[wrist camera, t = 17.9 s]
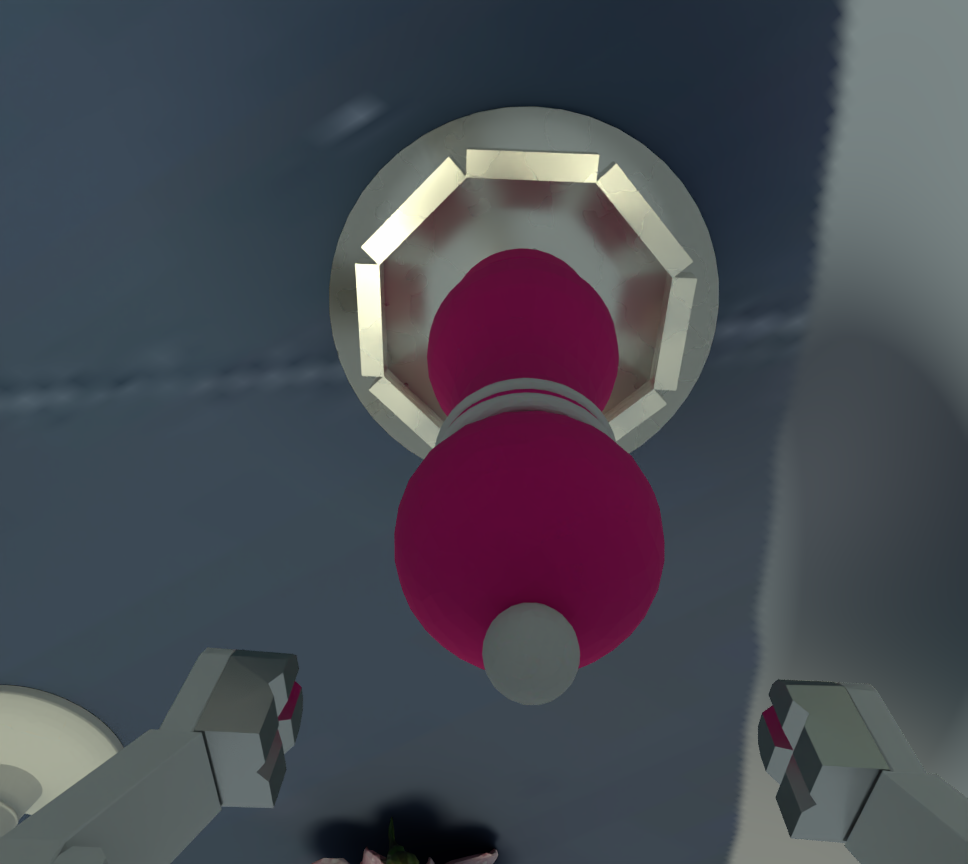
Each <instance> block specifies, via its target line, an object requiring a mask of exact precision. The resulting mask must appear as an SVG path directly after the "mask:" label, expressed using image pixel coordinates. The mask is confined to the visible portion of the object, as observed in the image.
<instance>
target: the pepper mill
mask: <svg viewBox="0 0 968 864" xmlns="http://www.w3.org/2000/svg"><path fill="white" fill-rule="evenodd" d="M427 364H428V375H429V379H430V382H431V385H432V388H433V391H434V394H435V396H436V398H437V400H438V402H439V404H440V407H441V409H442V410H443V411H444V413H445V414H446V416H447V418H446V420H445V421H444V423H443V425H442V427H441V429H440V431H439V434H438V436H437V439H436V443H435V447H434V448H433V449H432V450H431V451H430V452H429V453H428V455H427V456H426V457H425V459H424V460H423V462H422V463H421V464H420V466H419V467H418V468H417V470H416V471H415V473H414V474H413V475H412V477H411V478H410V480H409V482H408V484H407V487H406V489H405V492H404V494H403V497H402V500H401V502H400V505H399V508H398V515H397V521H396V527H395V534H394V535H395V563H396V568H397V572H398V576H399V580H400V583H401V587H402V590H403V593H404V595H405V597H406V600H407V602H408V604H409V606H410V609H411V610H412V612H413V613H414V615H415V616H416V617H417V619H418V620H419V621H420V623H421V624H422V626H423V627H424V628H425V630H426V631H427V632H428V633H429V634H430V635H431V636H432V637H433V638H434V639H435V640H437V641H438V642H439V643H440V644H441V645H442V646H443V647H444V648H446V649H447V650H449V651H450V652H452V653H453V654H454V655H456V656H457V657H459V658H460V659H462V660H464V661H467V662H469V663H471V664H473V665H475V666H477V667H479V668H481V669H484V670H486V673H487V675H488V677H489V679H490V680H491V682H492V684H493V685H494V687H495V688H496V689H497V690H498V691H499V692H501V693H502V694H503V695H504V696H506V697H507V698H508V699H510V700H513V701H516V702H519V703H521V704H524V705H541V704H544V703H547V702H550V701H553V700H554V699H556V698H557V697H558V696H560V695H561V694H563V693H564V691H565V690H566V689H567V688H568V687H569V686H570V685H571V684H572V682H573V680H574V678H575V675H576V673H577V671H578V669H579V668H581V667H584V666H586V665H588V664H590V663H593V662H595V661H596V660H598V659H600V658H601V657H603V656H604V655H606V654H608V653H609V652H611V651H612V650H614V649H615V648H616V647H617V646H618V645H620V644H621V643H622V642H623V641H624V640H625V639H626V638H628V637H629V636H630V635H631V634H632V632H633V631H634V630H635V629H636V627H637V626H638V625H639V624H640V622H641V621H642V620H643V619H644V617H645V615H646V613H647V611H648V609H649V607H650V605H651V603H652V601H653V599H654V597H655V595H656V593H657V591H658V588H659V583H660V578H661V574H662V569H663V565H664V535H663V528H662V521H661V514H660V509H659V506H658V503H657V500H656V497H655V494H654V492H653V490H652V488H651V486H650V484H649V482H648V480H647V479H646V477H645V476H644V474H643V473H642V471H641V470H640V468H639V467H638V465H637V464H636V462H635V460H634V459H633V457H632V456H631V455H630V454H629V453H627V452H626V451H625V450H624V449H623V448H622V447H620V446H619V445H618V444H617V443H616V439H615V436H614V433H613V431H612V428H611V426H610V424H609V423H608V421H607V419H606V418H605V416H604V415H603V413H602V411H603V410H604V408H605V406H606V404H607V402H608V400H609V399H610V396H611V393H612V390H613V387H614V384H615V381H616V377H617V372H618V364H619V351H618V342H617V336H616V331H615V326H614V322H613V320H612V317H611V314H610V312H609V310H608V308H607V306H606V305H605V303H604V301H603V300H602V298H601V297H600V295H599V294H598V293H597V292H596V291H595V290H594V288H593V287H592V286H591V285H590V284H589V283H588V282H586V281H585V280H584V279H582V278H581V277H580V276H579V275H578V274H577V273H576V272H575V270H574V269H573V268H572V267H570V266H569V265H568V264H567V263H565V262H564V261H563V260H561V259H559V258H557V257H555V256H553V255H551V254H549V253H546V252H543V251H539V250H535V249H528V248H518V249H510V250H505V251H501V252H498V253H495V254H493V255H490V256H488V257H487V258H485V259H483V260H481V261H480V262H479V263H477V264H476V265H475V266H474V267H472V268H471V269H470V270H469V272H468V273H467V274H466V275H465V276H464V277H463V279H462V280H461V281H460V282H459V283H458V284H457V285H456V286H455V287H454V288H453V289H452V290H451V291H450V292H449V294H448V295H447V296H446V298H445V299H444V300H443V302H442V303H441V305H440V307H439V309H438V311H437V313H436V314H435V317H434V320H433V323H432V326H431V329H430V335H429V341H428V350H427Z"/></svg>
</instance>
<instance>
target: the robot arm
mask: <svg viewBox="0 0 968 864" xmlns="http://www.w3.org/2000/svg"><path fill="white" fill-rule="evenodd" d="M298 670H299V666H298V661H297V656H296V655H294V654H287V653H274V652H262V651H250V650H237V649H236V650H233V649H219V648H207V649H206V650H205V651H203V652H202V653H201V654H200V655H199V657H198V659H197V661H196V662H195V664H194V666H193V668H192V670H191V672H190V673H189V675H188V677H187V679H186V681H185V683H184V684H183V686H182V688H181V690H180V692H179V693H178V695H177V697H176V699H175V701H174V703H173V704H172V706H171V708H170V710H169V712H168V714H167V715H166V717H165V719H164V721H163V723H162V725H161V726H160V728H159V730H152V729H150V730H148V731H147V732H146V733H144V734H143V735H141V736H140V737H139V738H137V739H136V740H135V741H133V742H132V743H130V744H129V745H128V746H126V747H125V748H124V749H122V750H121V751H119V752H118V753H117V754H115V755H114V756H112V757H111V758H110V759H108V760H107V761H106V762H104V763H103V764H101V765H100V766H99V767H97V768H96V769H95V770H93V771H92V772H90V773H89V774H88V775H86V776H85V777H84V778H82V779H81V780H79V781H78V782H77V783H75V784H74V785H73V786H71V787H70V788H68V789H67V790H66V791H64V792H63V793H62V794H60V795H59V796H57V797H56V798H55V799H53V800H52V801H51V802H49V803H48V804H46V805H45V806H44V807H42V808H41V809H40V810H38V811H37V812H35V813H34V814H33V815H31V816H30V817H28V818H27V819H26V820H24V821H23V822H22V823H20V824H19V825H17V826H16V827H15V828H13V829H12V830H11V831H9V832H8V833H6V834H5V835H4V836H2V837H1V838H0V864H170V863H171V862H172V861H173V860H174V859H175V858H176V857H177V856H178V855H179V854H180V853H181V852H182V851H183V849H184V848H185V847H186V846H187V845H188V844H189V843H190V842H191V841H192V840H193V839H194V838H195V837H196V836H197V835H198V834H199V833H200V832H201V831H202V830H203V829H204V827H205V826H206V825H207V824H208V823H209V822H210V821H211V820H212V819H213V818H214V817H215V816H216V815H217V814H218V813H219V812H220V811H221V806H225V807H260V808H274V805H275V802H276V799H277V796H278V793H279V790H280V787H281V784H282V781H283V778H284V775H285V772H286V763H285V757H284V754H285V753H286V752H287V751H288V750H289V749H290V748H291V747H293V746H294V745H295V742H296V739H297V735H298V732H299V729H300V723H301V717H302V711H303V694H302V687H301V686H300V685H299V684H298V683H297V682H295V679H296V676H297V673H298ZM769 697H770V699H771V702H772V704H773V706H771V707H770V708H768V709H767V710H765V711H764V712H763V713H762V715H761V719H760V722H759V725H758V745H759V750H760V755H761V758H762V761H763V764H764V767H765V770H766V772H767V773H768V774H769V775H770V776H771V777H772V778H774V779H775V780H776V781H777V782H778V783H779V784H780V787H779V790H778V792H777V795H776V800H777V802H778V805H779V808H780V811H781V813H782V816H783V819H784V821H785V824H786V827H787V829H788V832H789V835H790V837H791V838H795V839H806V840H818V841H829V842H841V843H845V847H846V848H847V849H848V850H849V851H850V852H851V854H852V855H853V856H854V857H855V858H856V859H857V860H858V861H859V862H860V863H861V864H968V798H967V797H965V796H964V795H963V794H962V793H960V792H959V791H958V790H956V789H955V788H954V787H953V786H951V785H950V784H949V783H947V782H946V781H945V780H943V779H942V778H941V777H940V776H938V775H937V774H931V773H926V771H925V770H924V768H923V766H922V764H921V763H920V761H919V760H918V758H917V756H916V755H915V753H914V751H913V750H912V748H911V746H910V745H909V743H908V741H907V740H906V738H905V737H904V735H903V733H902V732H901V730H900V728H899V727H898V725H897V724H896V722H895V720H894V718H893V717H892V715H891V713H890V712H889V710H888V708H887V707H886V705H885V703H884V702H883V700H882V699H881V697H880V695H879V694H878V692H877V690H876V689H875V688H874V687H872V686H871V685H870V684H861V683H840V682H838V683H835V682H827V681H802V680H779V679H778V680H777V681H775V682H774V683H773V684H772V687H771V689H770V692H769Z"/></svg>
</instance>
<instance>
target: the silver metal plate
mask: <svg viewBox="0 0 968 864" xmlns="http://www.w3.org/2000/svg"><path fill="white" fill-rule="evenodd" d="M518 248H528V249H535V250H539V251H543V252H546V253H549V254H551V255H553V256H555V257H557V258H559V259H561V260H563V261H564V262H565V263H567V264H568V265H569V266H570V267H572V268H573V269H574V270H575V272H576V273H577V274H578V275H579V276H580V277H581V278H582V279H584V280H585V281H586V282H588V283H589V284H590V285H591V286H592V287H593V288H594V290H595V291H596V292H597V293H598V294H599V295H600V297H601V298H602V300H603V301H604V303H605V305H606V306H607V308H608V310H609V312H610V314H611V317H612V320H613V322H614V326H615V331H616V336H617V342H618V351H619V364H618V372H617V377H616V381H615V384H614V387H613V390H612V393H611V396H610V399H609V400H608V402H607V404H606V406H605V408H604V410H603V411H602V413H603V415H604V416H605V418H606V419H607V421H608V423H609V424H610V426H611V428H612V431H613V433H614V436H615V439H616V443H617V444H618V445H619V446H620V447H622V448H623V449H624V450H625V451H626V452H627V453H630V452H632V451H634V450H635V449H637V448H638V447H640V446H641V445H642V444H643V443H645V442H646V441H647V440H648V439H650V438H651V437H652V436H653V435H654V434H656V433H657V432H658V431H659V430H660V429H661V428H662V427H663V426H664V425H665V424H666V423H667V422H668V421H669V420H670V419H671V417H672V416H673V415H674V414H675V413H676V411H677V410H678V409H679V407H680V406H681V405H682V403H683V402H684V401H685V400H686V398H687V397H688V395H689V393H690V392H691V390H692V388H693V386H694V385H695V383H696V381H697V380H698V378H699V376H700V374H701V371H702V369H703V367H704V364H705V362H706V360H707V357H708V355H709V352H710V348H711V344H712V341H713V337H714V334H715V329H716V322H717V315H718V308H719V279H718V271H717V264H716V257H715V253H714V249H713V246H712V242H711V239H710V235H709V232H708V229H707V227H706V224H705V222H704V220H703V218H702V216H701V213H700V211H699V209H698V207H697V205H696V203H695V202H694V200H693V199H692V197H691V196H690V194H689V192H688V191H687V189H686V188H685V186H684V185H683V183H682V182H681V181H680V180H679V178H678V177H677V176H676V175H675V174H674V173H673V172H672V170H671V169H670V168H669V167H668V166H667V165H666V164H665V162H663V161H662V160H661V159H660V158H659V157H658V156H656V155H655V154H654V153H653V152H652V151H650V150H649V149H648V148H647V147H646V146H645V145H643V144H642V143H640V142H639V141H637V140H636V139H634V138H632V137H631V136H629V135H627V134H626V133H624V132H623V131H621V130H619V129H617V128H615V127H613V126H611V125H608V124H606V123H604V122H601V121H599V120H597V119H594V118H592V117H590V116H586V115H582V114H578V113H575V112H571V111H567V110H563V109H556V108H547V107H538V106H521V107H503V108H498V109H492V110H487V111H481V112H477V113H474V114H471V115H468V116H465V117H462V118H459V119H456V120H453V121H450V122H448V123H446V124H444V125H442V126H440V127H438V128H436V129H434V130H433V131H431V132H429V133H427V134H425V135H423V136H422V137H420V138H419V139H417V140H416V141H415V142H413V143H412V144H410V145H409V146H407V147H406V148H405V149H403V150H402V151H400V152H399V153H398V154H397V155H396V156H395V157H394V158H393V159H392V160H391V161H390V162H388V163H387V164H386V165H385V166H384V167H383V168H382V169H381V170H380V171H379V172H378V174H377V175H376V176H375V177H374V178H373V180H372V181H371V182H370V183H369V185H368V186H367V187H366V188H365V190H364V191H363V192H362V194H361V196H360V197H359V199H358V201H357V202H356V204H355V206H354V207H353V209H352V211H351V212H350V214H349V216H348V219H347V221H346V223H345V226H344V228H343V230H342V233H341V235H340V238H339V240H338V244H337V248H336V252H335V256H334V259H333V263H332V270H331V278H330V287H329V311H330V320H331V327H332V334H333V339H334V342H335V346H336V349H337V353H338V356H339V360H340V362H341V365H342V367H343V369H344V372H345V374H346V376H347V379H348V381H349V383H350V384H351V386H352V388H353V390H354V391H355V393H356V395H357V396H358V398H359V400H360V401H361V403H362V404H363V405H364V407H365V408H366V409H367V410H368V412H369V413H370V414H371V416H372V417H373V418H374V420H375V421H376V422H377V423H378V424H379V425H380V426H381V427H382V428H383V429H384V430H385V431H386V432H387V433H388V434H389V435H390V436H392V437H393V438H394V439H395V440H397V441H398V442H399V443H400V444H402V445H403V446H404V447H405V448H407V449H408V450H409V451H411V452H413V453H414V454H416V455H417V456H419V457H421V458H422V459H425V457H426V456H427V455H428V453H429V452H430V451H431V450H432V449H433V448H434V447H435V443H436V439H437V436H438V434H439V431H440V429H441V427H442V425H443V423H444V421H445V420H446V418H447V416H446V414H445V413H444V411H443V410H442V409H441V407H440V404H439V402H438V400H437V398H436V396H435V394H434V391H433V388H432V385H431V382H430V379H429V375H428V364H427V350H428V341H429V335H430V329H431V326H432V323H433V320H434V317H435V314H436V313H437V311H438V309H439V307H440V305H441V303H442V302H443V300H444V299H445V298H446V296H447V295H448V294H449V292H450V291H451V290H452V289H453V288H454V287H455V286H456V285H457V284H458V283H459V282H460V281H461V280H462V279H463V277H464V276H465V275H466V274H467V273H468V272H469V270H470V269H471V268H472V267H474V266H475V265H476V264H477V263H479V262H480V261H481V260H483V259H485V258H487V257H488V256H490V255H493V254H495V253H498V252H501V251H505V250H510V249H518Z"/></svg>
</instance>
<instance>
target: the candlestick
mask: <svg viewBox="0 0 968 864" xmlns="http://www.w3.org/2000/svg"><path fill="white" fill-rule="evenodd" d="M122 749H124V748H123V746H122V744H121V742H120V741H119V739H118V738H117V737H116V735H115V734H114V733H113V732H112V731H111V730H110V729H109V728H108V727H107V726H106V725H105V724H104V723H103V722H102V721H101V720H99V719H98V718H97V717H95V716H94V715H93V714H91V713H90V712H88V711H87V710H85V709H83V708H82V707H80V706H78V705H76V704H74V703H72V702H70V701H68V700H66V699H64V698H61V697H59V696H56V695H53V694H50V693H47V692H44V691H40V690H37V689H32V688H27V687H21V686H13V685H0V838H1V837H2V836H4V835H5V834H6V833H8V832H9V831H11V830H12V829H13V828H15V827H16V825H17V824H18V821H19V819H20V818H21V817H22V816H23V815H24V814H25V813H26V814H30V815H33V814H34V813H35V812H37V811H38V810H40V809H41V808H42V807H44V806H45V805H46V804H48V803H49V802H51V801H52V800H53V799H55V798H56V797H57V796H59V795H60V794H62V793H63V792H64V791H66V790H67V789H68V788H70V787H71V786H73V785H74V784H75V783H77V782H78V781H79V780H81V779H82V778H84V777H85V776H86V775H88V774H89V773H90V772H92V771H93V770H95V769H96V768H97V767H99V766H100V765H101V764H103V763H104V762H106V761H107V760H108V759H110V758H111V757H112V756H114V755H115V754H117V753H118V752H119V751H121V750H122Z"/></svg>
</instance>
